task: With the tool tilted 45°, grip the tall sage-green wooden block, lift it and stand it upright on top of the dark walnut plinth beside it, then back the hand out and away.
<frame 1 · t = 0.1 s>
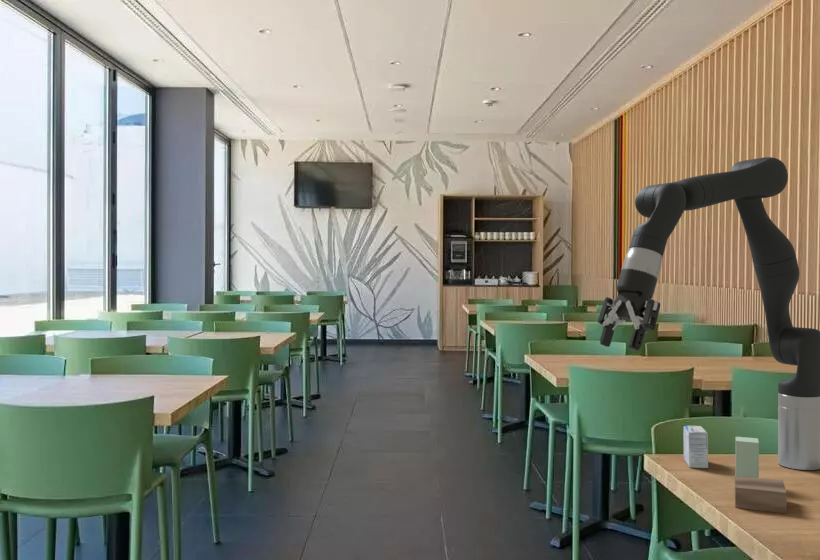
hand: (618, 347, 148), 31 cm above the table, tool tilted 20°, fingers open, 8 cm apart
medicine box: (695, 465, 176), on the table
sage block: (746, 485, 158), on the table
walnut plinth: (759, 503, 146), on the table
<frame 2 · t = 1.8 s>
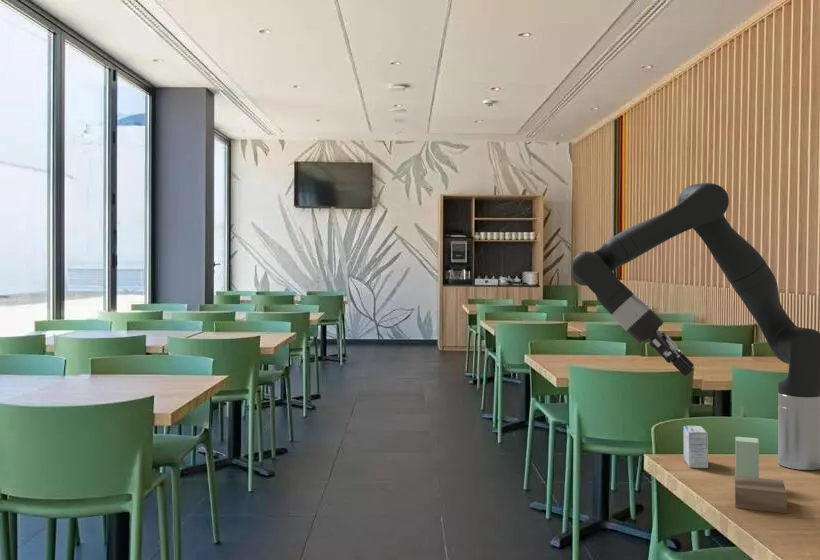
hand: (690, 370, 163), 24 cm above the table, tool tilted 45°, fingers open, 8 cm apart
nothing on the table moved.
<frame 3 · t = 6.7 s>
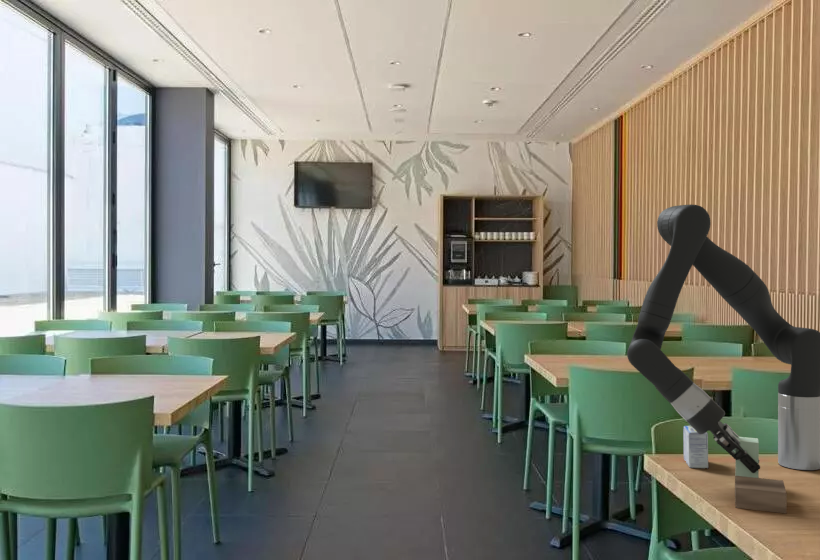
hand: (756, 467, 158), 4 cm above the table, tool tilted 45°, fingers closed on sage block, 4 cm apart
sage block: (746, 485, 158), on the table, touching gripper
everything else where it was.
when the fingers open (9 cm above the table, at t = 12.5 s): sage block stays where it is, resting on walnut plinth.
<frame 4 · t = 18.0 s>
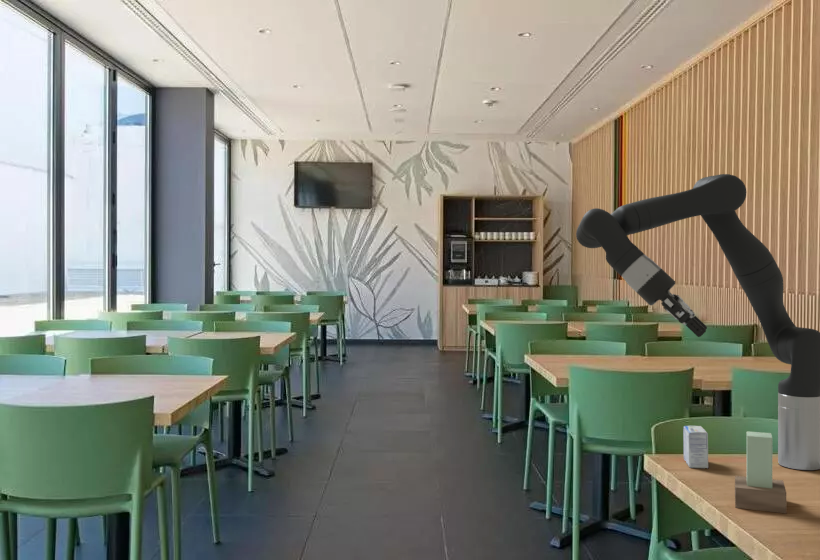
hand: (703, 332, 156), 34 cm above the table, tool tilted 45°, fingers open, 8 cm apart
sage block: (759, 484, 146), point 4 cm above the table, touching walnut plinth
everything else where it was.
at the end: sage block 0.2 cm off-centre on the walnut plinth, point 4.0 cm above the walnut plinth's base; sage block tilted 0°; the gripper is holding nothing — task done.
